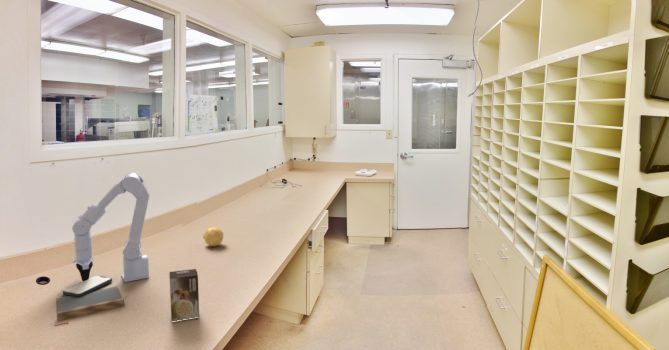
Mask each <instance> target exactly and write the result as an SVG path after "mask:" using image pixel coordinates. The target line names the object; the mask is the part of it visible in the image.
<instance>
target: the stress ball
mask: <svg viewBox="0 0 669 350" xmlns="http://www.w3.org/2000/svg"><path fill="white" fill-rule="evenodd" d="M203 240H204V242H205V244H206V245H208V246H210V247H212V248H213V247H217V246H219V245H220V244H221V243H222V242H223V240H224V233H223V231H222V229H220V228H218V227H215V226H213V227H210V228H208V229H207V230H205V232H204V233H203Z"/></svg>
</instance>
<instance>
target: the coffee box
mask: <svg viewBox="0 0 669 350" xmlns="http://www.w3.org/2000/svg"><path fill="white" fill-rule="evenodd" d="M168 276H169V297H170V300H169V301H170V316H171V319H170V320H172V321H177V320H183V319H189V318H195V317H199V318H200V301H199V300H200V297H199V295H200V294H199V275H198V271H197V269H196V268H191V269H183V270H175V271H169V274H168ZM172 321H171V322H172Z"/></svg>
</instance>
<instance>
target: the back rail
mask: <svg viewBox="0 0 669 350" xmlns="http://www.w3.org/2000/svg"><path fill="white" fill-rule="evenodd" d="M125 300H126V299H125V297H122V298H120V299H115V300H110V301H106V302H101V303H96V304H91V305H87V306H82V307H77V308H73V309H68V310H63V311H59V312H57V321H58V322H59V321H62V320H67V319H72V318H77V317H81V316H85V315H90V314H94V313H98V312H103V311H107V310H111V309H116V308H121V307H124V306H126V304H125V303H126V302H125Z"/></svg>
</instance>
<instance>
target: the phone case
mask: <svg viewBox="0 0 669 350" xmlns="http://www.w3.org/2000/svg"><path fill="white" fill-rule="evenodd" d="M111 282H113V278H112V277H109V276H104V275H103V276H102V275H94V276H92V277H89V279H88V280H85V281H81V282H78V283H77V284H75V285H72V286H70V287H67V288H66V289H64V290H62V295H64V296H73V297H81V296H83V295H86V294H88V293H90V292H92V291H95V290H99V289H100V288H101V287H104V286H105V285H108V284H110V283H111Z"/></svg>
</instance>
